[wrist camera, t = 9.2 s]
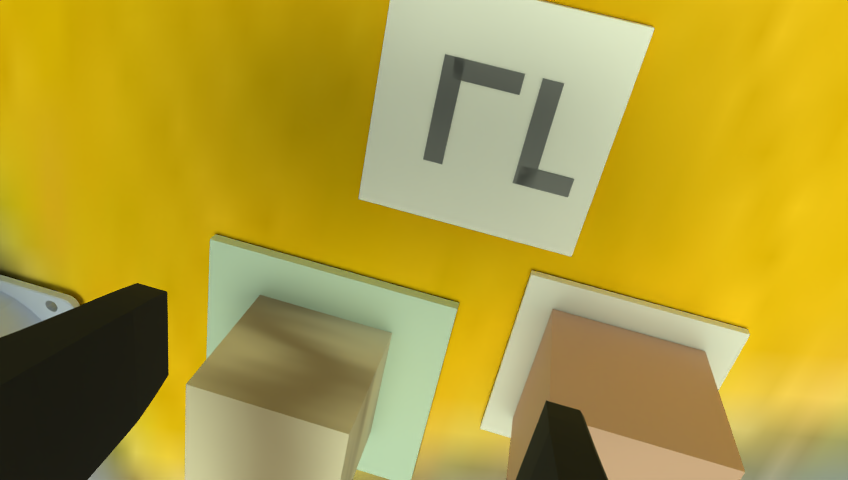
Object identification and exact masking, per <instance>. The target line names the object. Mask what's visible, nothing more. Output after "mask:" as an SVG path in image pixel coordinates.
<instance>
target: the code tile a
mask: <svg viewBox="0 0 848 480" xmlns="http://www.w3.org/2000/svg"><path fill="white" fill-rule="evenodd" d="M654 29H655V28H654V27H653V26H649V25H644V24H640V23H636V22H632V21H627V20H623V19H619V18H615V17H610V16H606V15H602V14H598V13H593V12H589V11H585V10H581V9H577V8H572V7H568V6H564V5H560V4H555V3H551V2H547V1H543V0H390V4H389V10H388V16H387V23H386V29H385V35H384V41H383V48H382V54H381V60H380V67H379V73H378V79H377V85H376V92H375V98H374V104H373V111H372V117H371V123H370V129H369V136H368V142H367V148H366V155H365V161H364V167H363V173H362V180H361V186H360V192H359V199H360V200H364V201H368V202H371V203H375V204H379V205H382V206H386V207H390V208H394V209H397V210H401V211H405V212H408V213H412V214H416V215H419V216H423V217H427V218H430V219H434V220H438V221H441V222H445V223H449V224H453V225H456V226H460V227H464V228H467V229H471V230H475V231H478V232H482V233H486V234H489V235H493V236H497V237H501V238H504V239H508V240H512V241H515V242H519V243H523V244H526V245H530V246H534V247H537V248H541V249H545V250H549V251H552V252H556V253H560V254H563V255H567V256H571V257H572V254H573V251H574V248H575V246H576V243H577V240H578V237H579V235H580V232H581V229H582V226H583V224H584V221H585V218H586V215H587V213H588V210H589V207H590V204H591V202H592V199H593V196H594V193H595V191H596V188H597V185H598V183H599V180H600V177H601V174H602V172H603V169H604V166H605V163H606V161H607V158H608V155H609V152H610V150H611V147H612V144H613V141H614V139H615V136H616V133H617V130H618V128H619V125H620V122H621V119H622V117H623V114H624V111H625V108H626V106H627V103H628V100H629V97H630V95H631V92H632V89H633V87H634V84H635V81H636V78H637V76H638V73H639V70H640V67H641V65H642V62H643V59H644V56H645V54H646V51H647V48H648V45H649V43H650V40H651V37H652V34H653V32H654Z"/></svg>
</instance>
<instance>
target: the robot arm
mask: <svg viewBox="0 0 848 480" xmlns="http://www.w3.org/2000/svg"><path fill="white" fill-rule="evenodd" d="M167 376H168V312H167V292H166V291H163V290H159V289H156V288H152V287H149V286H145V285H142V284H138V283H136V284H133V285H131V286H128V287H125V288H122V289H120V290H117V291H115V292H112V293H110V294H107V295H105V296H102V297H100V298H97V299H95V300H92V301H90V302H88V303H85V304H83V305H80V304H79V303H78V301H77V300H76V299H75V298H74V297H72V296H70V295H67V294H64V293H60V292H57V291H54V290H50V289H47V288H44V287H40V286H37V285H34V284H30V283H27V282H23V281H20V280H17V279H13V278H10V277H7V276H3V275H0V480H88V478H89V477H90V476H91V475H92V474H93V473H94V472H95V470H96V469H97V468H98V467H99V466H100V465H101V464H102V462H103V461H104V460H105V459H106V458H107V457H108V455H109V454H110V453H111V452H112V451H113V450H114V448H115V447H116V446H117V445H118V444H119V443H120V441H121V440H122V439H123V438H124V437H125V436H126V435H127V433H128V432H129V431H130V430H131V429H132V427H133V426H134V425H135V424H136V423H137V421H138V420H139V419H140V417H141V416H142V414H143V413H144V411H145V410H146V408H147V407H148V406H149V404H150V403H151V401H152V400H153V398H154V397H155V395H156V394H157V392H158V390H159V389H160V387H161V386H162V384H163V383H164V381H165V379H166V378H167ZM516 480H608V478H607V475H606V473H605V470H604V468H603V466H602V463H601V461H600V458H599V456H598V453H597V450H596V448H595V445H594V443H593V440H592V437H591V435H590V432H589V429H588V426H587V424H586V421H585V418H584V416H583V414H582V412H581V411H580V410H578V409H574V408H571V407H567V406H564V405H560V404H557V403H553V402H550V401H546V402H545V404H544V407H543V410H542V412H541V415H540V417H539V420H538V423H537V425H536V428H535V430H534V433H533V436H532V438H531V441H530V443H529V446H528V449H527V451H526V454H525V456H524V459H523V462H522V464H521V467H520V469H519V472H518V474H517V477H516Z"/></svg>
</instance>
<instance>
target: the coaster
mask: <svg viewBox="0 0 848 480" xmlns="http://www.w3.org/2000/svg"><path fill="white" fill-rule="evenodd" d="M259 295H263V296H267V297H270V298H273V299H277V300H280V301H284V302H287V303H291V304H294V305H297V306H301V307H304V308H308V309H311V310H315V311H318V312H321V313H325V314H328V315H332V316H335V317H339V318H342V319H346V320H349V321H352V322H356V323H359V324H363V325H366V326H370V327H373V328H376V329H380V330H383V331H387V332H390V333H392V336H391V341H390V345H389V350H388V355H387V359H386V364H385V368H384V373H383V378H382V382H381V387H380V391H379V396H378V401H377V405H376V410H375V414H374V419H373V424H372V428H371V433H370V435H369V438H368V440H367V443H366V446H365V448H364V451H363V454H362V456H361V459H360V461H359V464H358V467H357V470H361V471H364V472H367V473H370V474H374V475H377V476H380V477H383V478H386V479H390V480H411V478H412V474H413V471H414V467H415V463H416V460H417V456H418V452H419V449H420V445H421V441H422V438H423V434H424V430H425V427H426V423H427V419H428V416H429V412H430V408H431V405H432V401H433V397H434V393H435V390H436V386H437V382H438V379H439V375H440V371H441V368H442V364H443V360H444V357H445V353H446V349H447V346H448V342H449V338H450V335H451V331H452V327H453V324H454V320H455V316H456V313H457V309H458V305H459V303H458V302H454V301H451V300H447V299H444V298H440V297H437V296H433V295H430V294H426V293H422V292H419V291H415V290H412V289H408V288H405V287H401V286H398V285H394V284H390V283H387V282H383V281H380V280H376V279H373V278H369V277H366V276H362V275H359V274H355V273H351V272H348V271H344V270H341V269H337V268H334V267H330V266H327V265H323V264H320V263H316V262H312V261H309V260H305V259H302V258H298V257H295V256H291V255H288V254H284V253H281V252H277V251H273V250H270V249H266V248H263V247H259V246H256V245H252V244H249V243H245V242H242V241H238V240H234V239H231V238H227V237H224V236H220V235H217V234H215V235H214V236H213V237H212V238H211V239H210V258H209V292H208V325H207V358H208V357H209V356H210V355H211V354H212V352H213V351H214V350H215V349H216V347H217V346H218V345H219V344H220V343H221V341H222V340H223V339H224V338H225V337H226V335H227V334H228V333H229V332H230V331H231V329H232V328H233V327H234V326H235V324H236V323H237V322H238V321H239V320H240V318H241V317H242V316H243V315H244V314H245V312H246V311H247V310H248V309H249V308H250V306H251V305H252V304H253V303H254V301H255V300H256V299H257V298H258V297H259ZM206 360H207V359H206Z"/></svg>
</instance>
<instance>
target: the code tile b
mask: <svg viewBox="0 0 848 480" xmlns="http://www.w3.org/2000/svg"><path fill="white" fill-rule="evenodd" d="M552 309H555V310H559V311H562V312H566V313H569V314H573V315H576V316H580V317H584V318H587V319H591V320H594V321H598V322H602V323H605V324H609V325H612V326H616V327H619V328H623V329H627V330H630V331H634V332H637V333H641V334H645V335H648V336H652V337H655V338H659V339H662V340H666V341H670V342H673V343H677V344H680V345H684V346H688V347H691V348H695V349H698V350H702V351H705V352H706V355H707V358H708V361H709V364H710V367H711V370H712V373H713V376H714V379H715V382H716V385H717V389H718V390H719V388H720V387H721V385H722V383H723V381H724V380H725V378H726V376H727V374H728V373H729V371H730V369H731V367H732V366H733V364H734V362H735V360H736V359H737V357H738V355H739V353H740V352H741V350H742V348H743V346H744V345H745V343H746V341H747V339H748V338H749V336H750V333H749V331H748V329H745V328H741V327H737V326H734V325H730V324H727V323H723V322H719V321H716V320H712V319H708V318H705V317H701V316H697V315H694V314H690V313H686V312H683V311H679V310H676V309H672V308H668V307H665V306H661V305H657V304H654V303H650V302H646V301H643V300H639V299H635V298H632V297H628V296H624V295H621V294H617V293H614V292H610V291H606V290H603V289H599V288H595V287H592V286H588V285H584V284H581V283H577V282H573V281H570V280H566V279H563V278H559V277H555V276H552V275H548V274H544V273H541V272H537V271H533V270H532V271H531V274H530V277H529V280H528V283H527V286H526V289H525V292H524V295H523V298H522V301H521V304H520V307H519V310H518V313H517V316H516V319H515V322H514V325H513V328H512V331H511V334H510V337H509V340H508V343H507V346H506V349H505V352H504V356H503V359H502V362H501V365H500V368H499V371H498V374H497V377H496V380H495V383H494V386H493V389H492V392H491V395H490V398H489V401H488V404H487V407H486V410H485V413H484V416H483V419H482V422H481V426H480V429H483V430H486V431H489V432H493V433H496V434H499V435H503V436H506V437H509V438H511V431H512V421H513V416H514V414H515V411H516V408H517V405H518V403H519V400H520V397H521V394H522V392H523V389H524V386H525V383H526V381H527V378H528V375H529V372H530V370H531V367H532V364H533V362H534V359H535V356H536V353H537V351H538V348H539V345H540V342H541V340H542V337H543V334H544V331H545V329H546V326H547V323H548V320H549V318H550V315H551V312H552Z"/></svg>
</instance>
